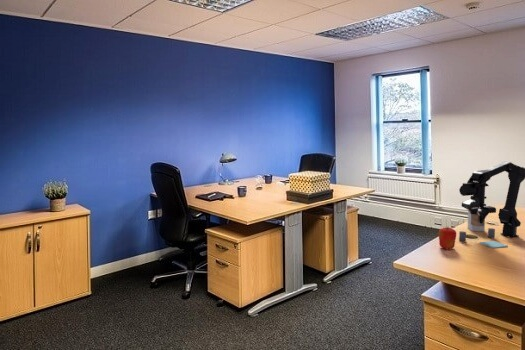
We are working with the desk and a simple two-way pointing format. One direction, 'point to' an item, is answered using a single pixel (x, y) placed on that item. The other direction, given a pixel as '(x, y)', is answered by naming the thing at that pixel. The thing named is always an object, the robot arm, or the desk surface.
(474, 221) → the walnut block
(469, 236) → the desk surface
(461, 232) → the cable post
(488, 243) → the pale teal mat
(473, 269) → the desk surface
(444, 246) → the apple
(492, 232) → the cylinder
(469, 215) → the supplement box
